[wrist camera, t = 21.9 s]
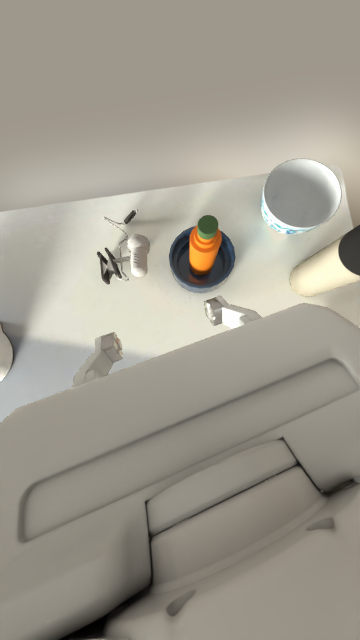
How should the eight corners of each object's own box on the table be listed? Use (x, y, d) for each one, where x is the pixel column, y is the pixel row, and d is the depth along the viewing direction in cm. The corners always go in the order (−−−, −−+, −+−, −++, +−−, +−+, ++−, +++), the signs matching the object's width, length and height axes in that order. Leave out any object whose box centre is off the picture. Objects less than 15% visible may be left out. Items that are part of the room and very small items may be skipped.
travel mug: (310, 303, 39) (413, 275, 21) (282, 282, 40) (357, 238, 22) (331, 277, 39) (450, 228, 21) (302, 257, 40) (394, 193, 22)
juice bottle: (187, 273, 41) (186, 238, 26) (192, 251, 41) (193, 205, 27) (210, 277, 40) (222, 244, 26) (214, 255, 41) (229, 210, 26)
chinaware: (298, 182, 42) (323, 148, 34) (323, 236, 40) (354, 213, 33) (241, 202, 42) (252, 172, 35) (262, 256, 41) (280, 238, 33)
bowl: (165, 287, 41) (163, 281, 37) (178, 233, 42) (176, 220, 38) (224, 298, 40) (228, 293, 36) (234, 242, 41) (240, 231, 37)
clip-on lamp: (110, 231, 47) (107, 289, 41) (95, 210, 41) (89, 274, 35) (151, 221, 45) (154, 280, 39) (142, 198, 39) (144, 263, 33)
